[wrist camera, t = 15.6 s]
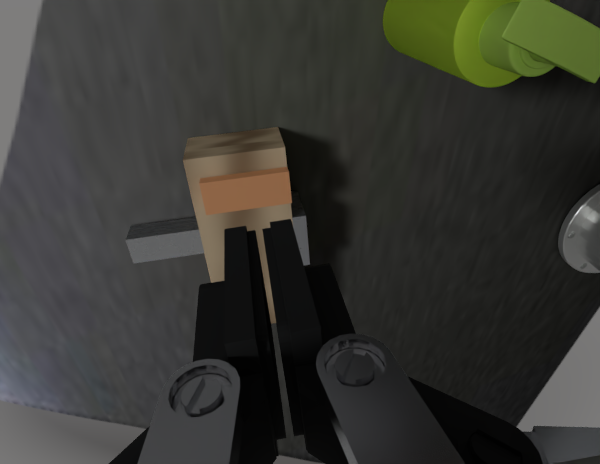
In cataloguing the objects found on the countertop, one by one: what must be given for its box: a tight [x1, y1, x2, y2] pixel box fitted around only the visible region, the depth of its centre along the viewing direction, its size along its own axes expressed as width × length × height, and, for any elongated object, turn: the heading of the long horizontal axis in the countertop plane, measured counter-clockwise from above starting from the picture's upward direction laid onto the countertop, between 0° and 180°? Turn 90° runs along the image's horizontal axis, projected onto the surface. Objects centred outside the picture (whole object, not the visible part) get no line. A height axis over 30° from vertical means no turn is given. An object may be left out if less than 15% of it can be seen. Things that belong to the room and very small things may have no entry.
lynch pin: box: [126, 191, 310, 265], centre depth 41 cm, size 16×5×5 cm, turn 95°
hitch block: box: [183, 127, 293, 323], centre depth 41 cm, size 8×18×5 cm, turn 5°
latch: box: [199, 167, 292, 215], centre depth 35 cm, size 7×3×1 cm, turn 95°
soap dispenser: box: [383, 0, 600, 87], centre depth 27 cm, size 6×7×20 cm
